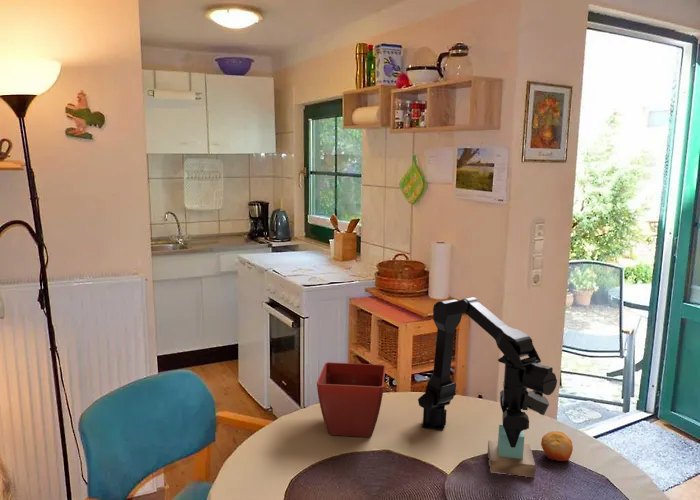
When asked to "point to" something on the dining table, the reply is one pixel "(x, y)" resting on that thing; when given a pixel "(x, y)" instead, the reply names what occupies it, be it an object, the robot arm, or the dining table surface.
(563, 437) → the fruit
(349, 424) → the plant pot
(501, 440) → the teal cube
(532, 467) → the light tan wooden block
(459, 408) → the dining table surface
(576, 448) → the dining table surface
